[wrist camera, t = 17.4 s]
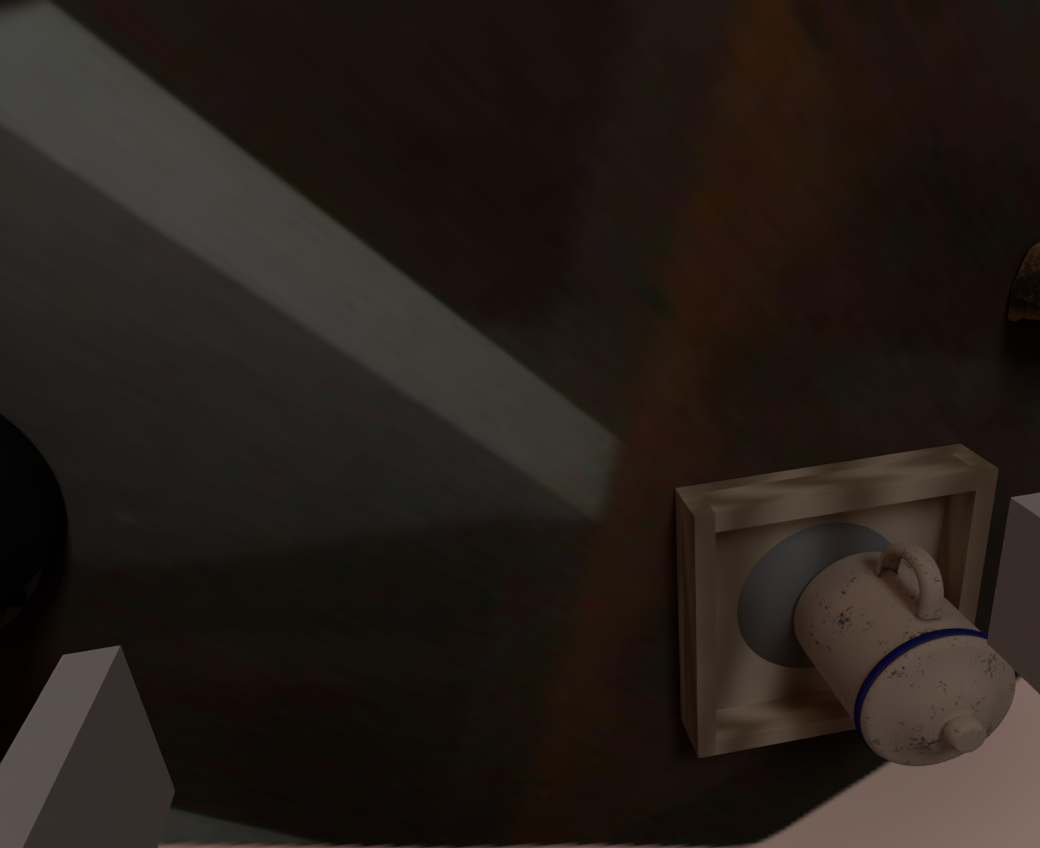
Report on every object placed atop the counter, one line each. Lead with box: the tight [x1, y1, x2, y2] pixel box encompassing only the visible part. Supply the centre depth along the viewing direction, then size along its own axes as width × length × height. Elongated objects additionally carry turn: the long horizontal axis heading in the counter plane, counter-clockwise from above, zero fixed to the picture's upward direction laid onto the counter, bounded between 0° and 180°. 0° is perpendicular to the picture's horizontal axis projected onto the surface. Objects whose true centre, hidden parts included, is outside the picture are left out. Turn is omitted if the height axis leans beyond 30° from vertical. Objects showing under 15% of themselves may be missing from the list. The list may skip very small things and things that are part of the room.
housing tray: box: [675, 444, 999, 758], centre depth 51 cm, size 18×18×4 cm
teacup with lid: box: [794, 542, 1015, 766], centre depth 47 cm, size 12×9×12 cm
